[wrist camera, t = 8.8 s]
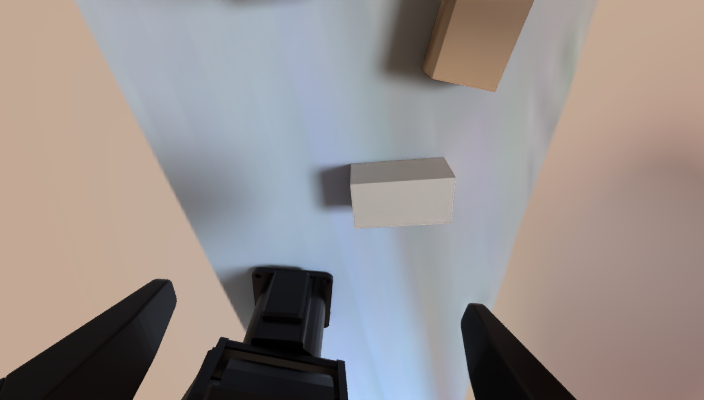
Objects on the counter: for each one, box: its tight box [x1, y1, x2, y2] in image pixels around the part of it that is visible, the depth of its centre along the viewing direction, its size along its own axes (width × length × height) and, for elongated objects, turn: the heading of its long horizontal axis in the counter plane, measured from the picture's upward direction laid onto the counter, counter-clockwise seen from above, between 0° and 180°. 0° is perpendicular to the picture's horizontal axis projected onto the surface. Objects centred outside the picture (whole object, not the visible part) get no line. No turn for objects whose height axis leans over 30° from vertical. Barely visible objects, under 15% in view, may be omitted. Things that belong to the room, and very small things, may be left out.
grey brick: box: [350, 157, 456, 229], centre depth 20 cm, size 6×3×3 cm, turn 95°
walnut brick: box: [422, 0, 534, 92], centre depth 15 cm, size 6×3×3 cm, turn 169°
